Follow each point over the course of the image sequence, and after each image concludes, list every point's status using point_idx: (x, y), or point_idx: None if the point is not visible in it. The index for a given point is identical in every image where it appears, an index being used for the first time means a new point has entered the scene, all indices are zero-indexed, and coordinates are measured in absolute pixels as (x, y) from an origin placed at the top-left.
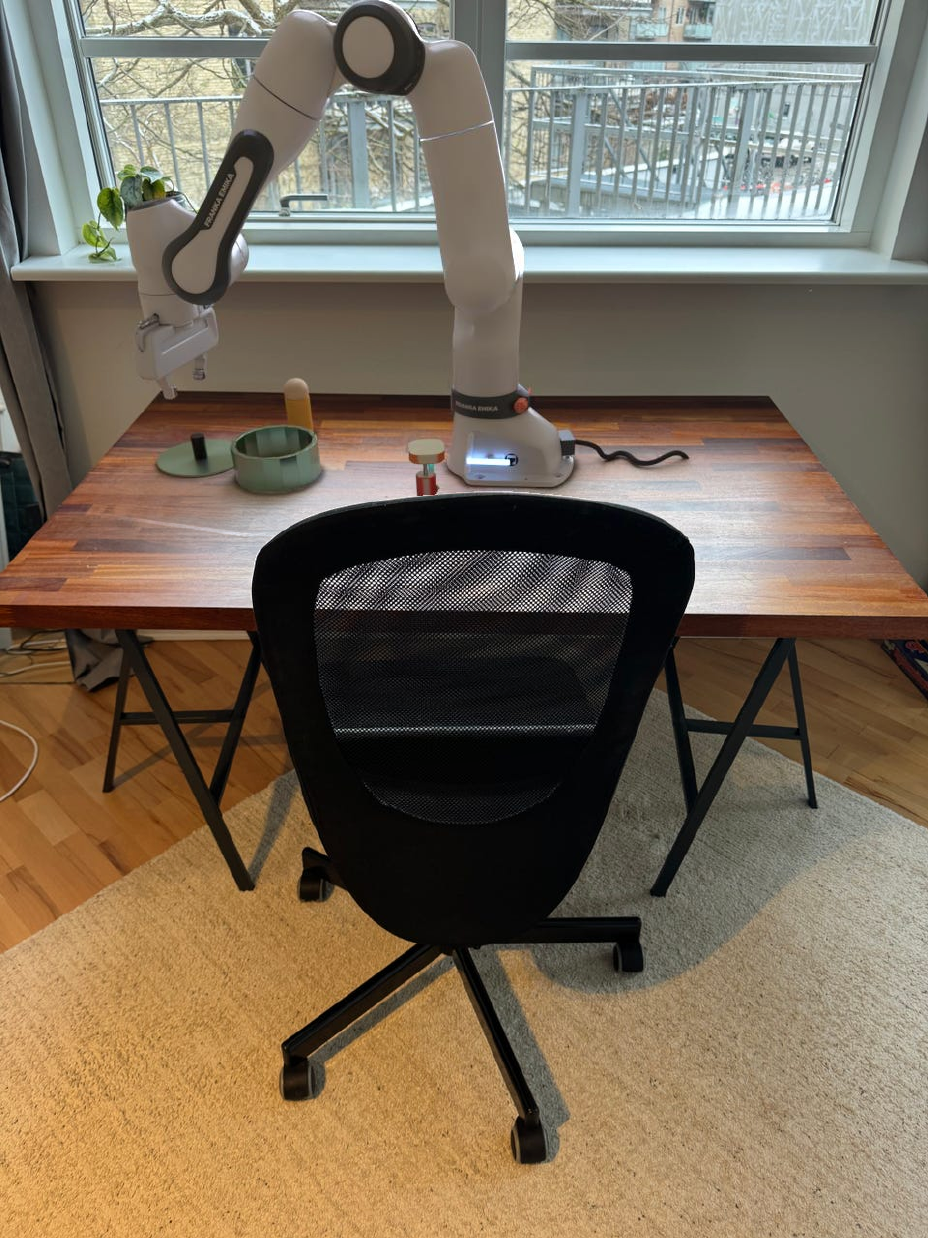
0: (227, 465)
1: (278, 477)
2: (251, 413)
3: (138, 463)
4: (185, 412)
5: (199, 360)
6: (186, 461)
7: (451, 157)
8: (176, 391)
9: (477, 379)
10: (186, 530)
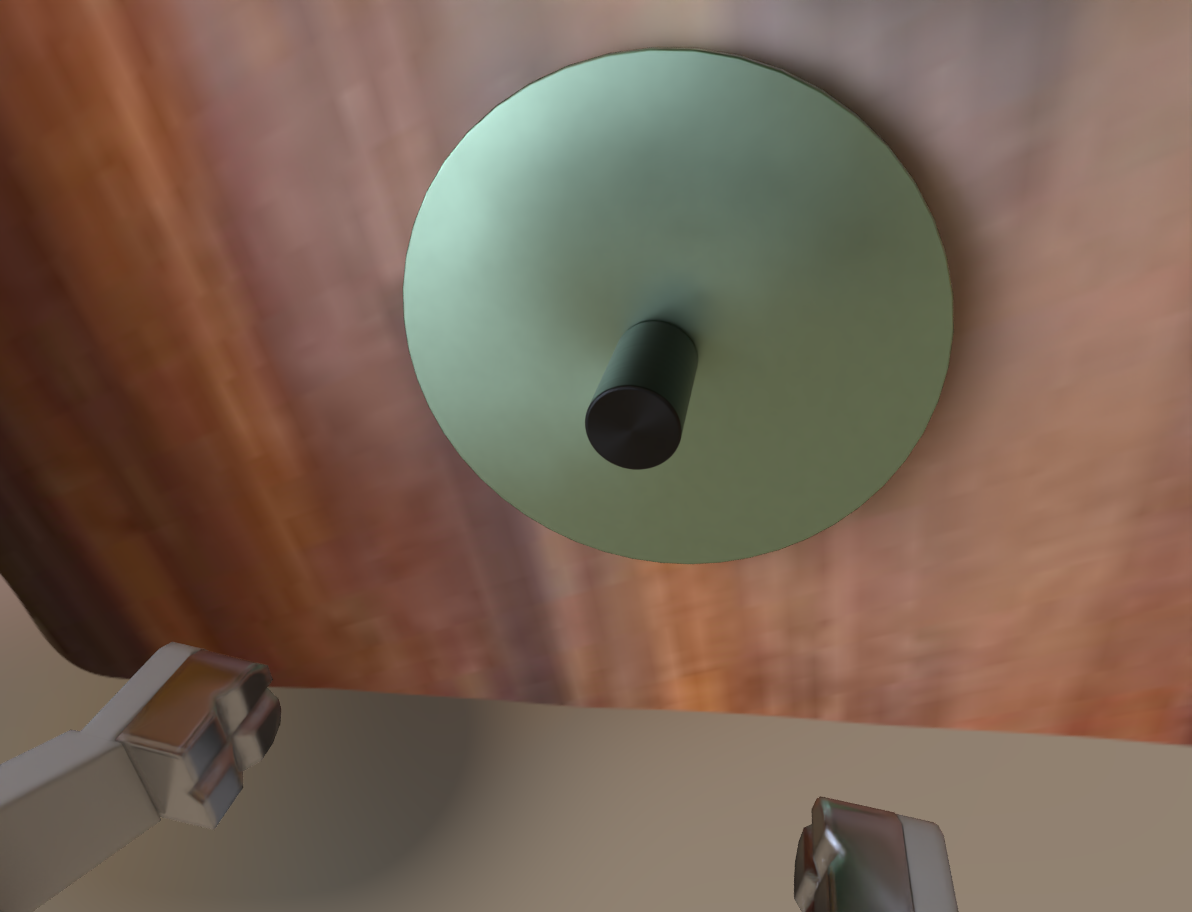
0: (793, 111)
1: None
2: (25, 308)
3: (719, 621)
4: (189, 588)
5: (17, 865)
6: (743, 415)
7: None
8: (847, 860)
9: None
10: None
